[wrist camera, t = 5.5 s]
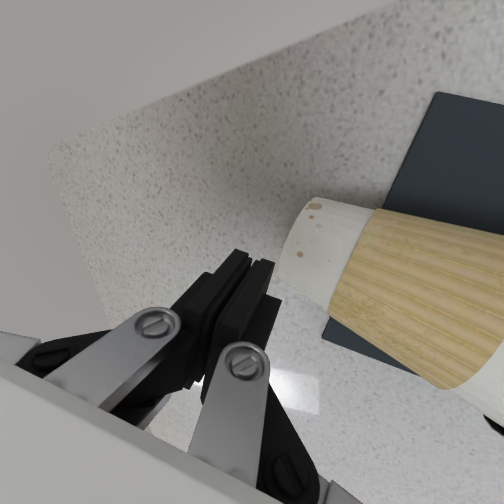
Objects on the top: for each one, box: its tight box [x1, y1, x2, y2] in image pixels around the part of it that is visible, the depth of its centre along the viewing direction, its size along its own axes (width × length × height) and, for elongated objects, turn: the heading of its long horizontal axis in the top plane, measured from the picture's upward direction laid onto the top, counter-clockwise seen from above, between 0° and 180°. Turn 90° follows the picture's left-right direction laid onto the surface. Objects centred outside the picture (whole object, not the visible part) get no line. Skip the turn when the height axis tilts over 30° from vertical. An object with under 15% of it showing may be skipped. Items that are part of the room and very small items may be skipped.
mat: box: [322, 92, 504, 377], centre depth 19 cm, size 20×16×1 cm
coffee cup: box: [278, 197, 504, 437], centre depth 16 cm, size 10×10×15 cm
